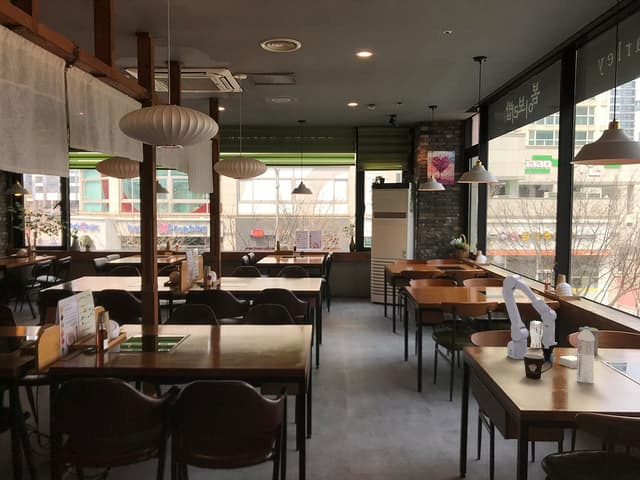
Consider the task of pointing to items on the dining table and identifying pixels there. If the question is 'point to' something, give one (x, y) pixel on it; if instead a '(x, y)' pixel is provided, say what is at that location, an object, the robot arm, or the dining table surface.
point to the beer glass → (536, 333)
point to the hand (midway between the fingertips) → (548, 359)
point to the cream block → (568, 361)
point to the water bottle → (585, 357)
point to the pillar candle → (595, 333)
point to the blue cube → (550, 358)
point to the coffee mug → (534, 366)
